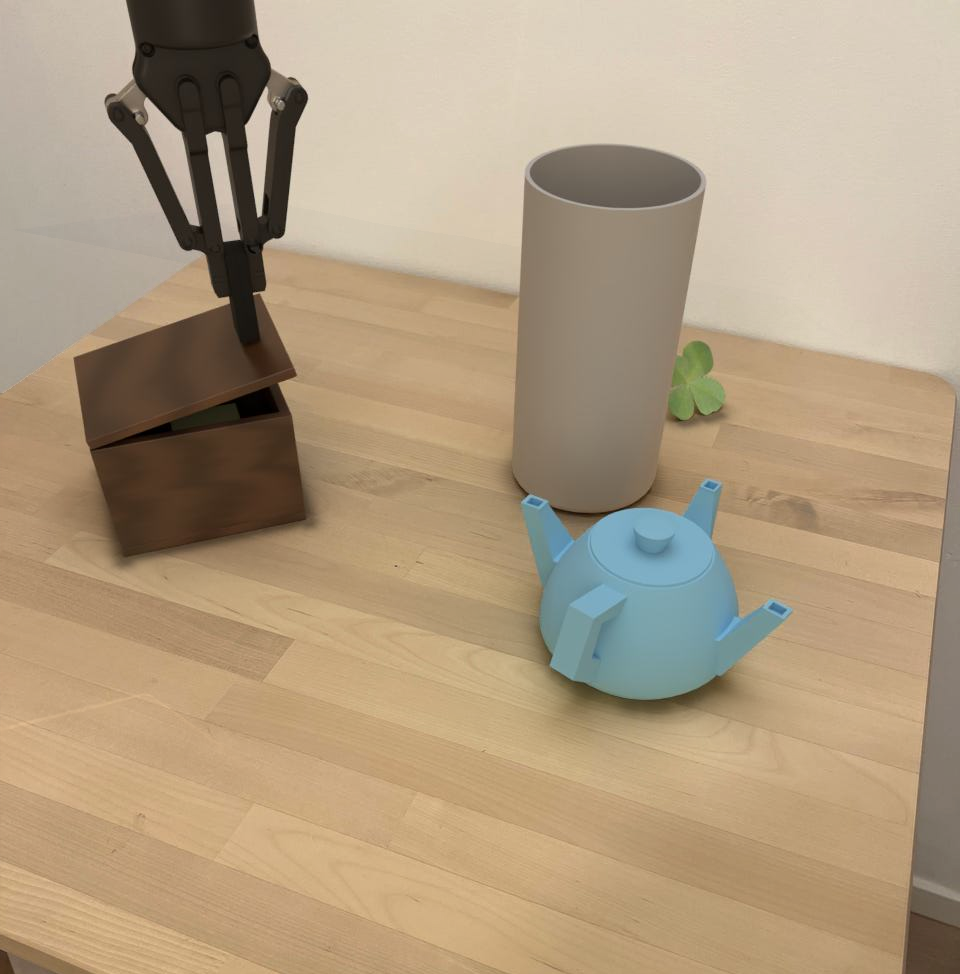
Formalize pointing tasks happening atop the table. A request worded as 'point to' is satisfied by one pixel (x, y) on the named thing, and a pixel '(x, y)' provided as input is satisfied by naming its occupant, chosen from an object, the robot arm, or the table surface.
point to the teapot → (642, 599)
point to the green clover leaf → (695, 382)
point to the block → (207, 417)
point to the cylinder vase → (600, 319)
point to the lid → (175, 373)
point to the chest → (204, 477)
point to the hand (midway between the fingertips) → (247, 332)
